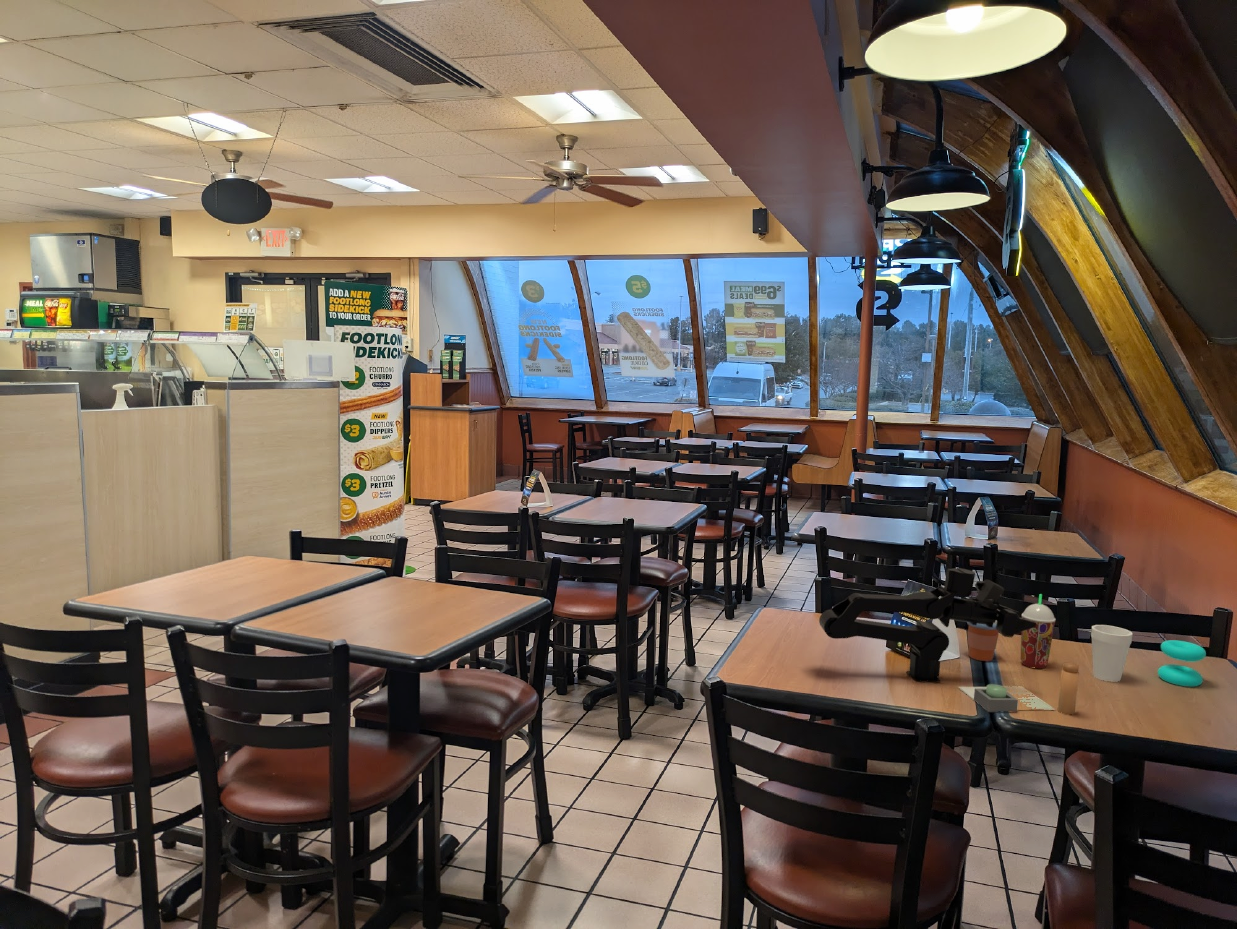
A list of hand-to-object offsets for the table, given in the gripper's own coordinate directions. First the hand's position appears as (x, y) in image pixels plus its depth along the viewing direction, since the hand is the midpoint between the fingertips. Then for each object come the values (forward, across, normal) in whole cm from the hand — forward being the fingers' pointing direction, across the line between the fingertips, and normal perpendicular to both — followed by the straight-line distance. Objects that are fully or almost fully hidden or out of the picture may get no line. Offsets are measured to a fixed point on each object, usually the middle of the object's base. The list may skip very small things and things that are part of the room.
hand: (1027, 619), depth 219 cm
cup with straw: (-1, +18, +17) cm, 25 cm away
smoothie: (+11, +14, +16) cm, 24 cm away
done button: (-12, -17, +16) cm, 27 cm away
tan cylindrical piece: (+4, -19, +16) cm, 25 cm away
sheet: (-8, -12, +18) cm, 23 cm away
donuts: (+46, +6, +12) cm, 48 cm away
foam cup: (+27, +6, +14) cm, 31 cm away
